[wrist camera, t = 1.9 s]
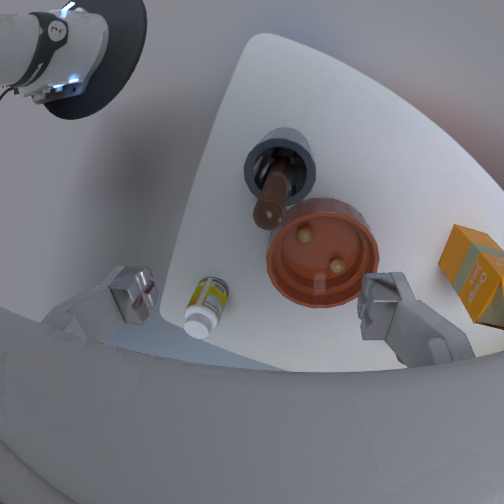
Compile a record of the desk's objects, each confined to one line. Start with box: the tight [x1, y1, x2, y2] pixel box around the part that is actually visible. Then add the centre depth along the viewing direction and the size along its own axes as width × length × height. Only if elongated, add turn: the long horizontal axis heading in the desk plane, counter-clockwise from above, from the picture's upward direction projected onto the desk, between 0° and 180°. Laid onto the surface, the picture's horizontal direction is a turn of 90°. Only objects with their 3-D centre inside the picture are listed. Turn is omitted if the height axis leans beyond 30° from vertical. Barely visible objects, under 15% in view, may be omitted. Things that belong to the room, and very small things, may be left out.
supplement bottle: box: [184, 278, 228, 339], centre depth 43 cm, size 6×6×10 cm
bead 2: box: [330, 258, 346, 274], centre depth 39 cm, size 2×2×2 cm
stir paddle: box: [253, 149, 296, 231], centre depth 24 cm, size 3×2×22 cm, turn 95°
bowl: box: [267, 198, 379, 308], centre depth 37 cm, size 15×15×6 cm
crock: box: [244, 127, 316, 206], centre depth 28 cm, size 6×6×12 cm
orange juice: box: [439, 224, 504, 330], centre depth 27 cm, size 8×9×20 cm
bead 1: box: [297, 227, 314, 244], centre depth 37 cm, size 2×2×2 cm
